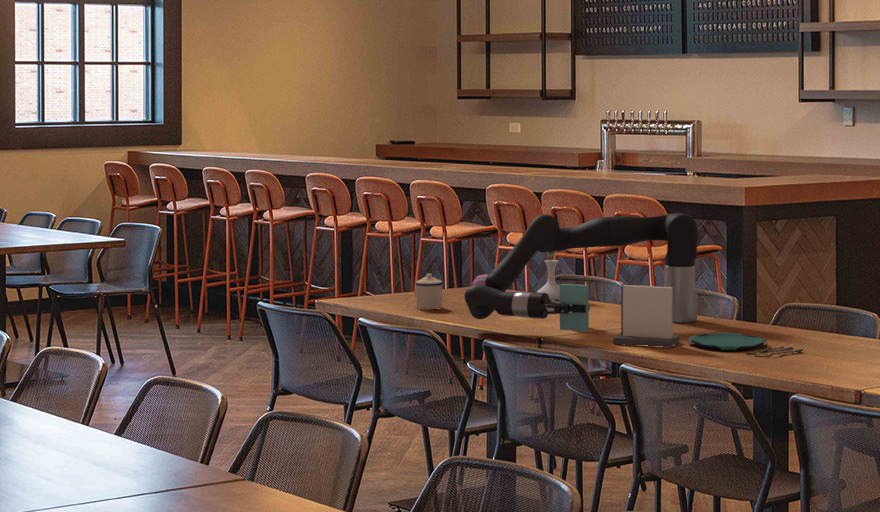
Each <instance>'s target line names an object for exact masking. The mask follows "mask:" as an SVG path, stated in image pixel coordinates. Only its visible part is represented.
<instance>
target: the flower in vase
mask: <svg viewBox="0 0 880 512" xmlns="http://www.w3.org/2000/svg"><path fill="white" fill-rule="evenodd" d="M545 253H546V254H547V255H548V257H549V259H545V260H544V263H545V265H546V267H547V272H548V273H547V276H548V277H547V281H546V283H545V284H544V285H543V286H542V287H540V289H538V290H537V291H536V292H539V293H547V294H548V296H549V299H550V300H554V299H560V284H558V283H557V282H556V277H555V276H556V275H555V274H556V267H557V264H558V263H559V260H557V259H552V258H551V257H553V256H554V255H556V254H557V251H553V253H551V252H545ZM550 253H551V254H550Z"/></svg>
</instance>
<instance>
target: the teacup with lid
mask: <svg viewBox="0 0 880 512" xmlns="http://www.w3.org/2000/svg"><path fill="white" fill-rule="evenodd" d="M415 285H416V286H415V287H414V296H415V298H416V309H417V308H421V309H436V308H441V309H442V308H443V280H441V279H438V278H436V277H435V276H433V273H426V275H425V276H423V277H422V278H421V279H418V280H416V281H415Z"/></svg>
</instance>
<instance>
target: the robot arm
mask: <svg viewBox="0 0 880 512" xmlns="http://www.w3.org/2000/svg"><path fill="white" fill-rule="evenodd" d="M698 231H699V230H698V224H697V222H696V220H695V219H694V218H693V217H692V216H690V215H688V214H687V213H682V212H674V213H667V214H663V215H657V216H645V217H644V216H629V215H628V216H624V215H623V216H619V215H617V216H616V215H615V216H603V217H602V216H601V217H597V218H594V219H591V220H589V221H586V222H584V223H583V222H582V223H581V224H579V225H575V226H570V227H560V224H559V220H557V218H556V217H554V216H553V215H551V214H546V213H545V214H540V215H538V216H536V217H534V219H533V220H531V223H530V224H529V225H528V227H527V229H526V230H525V232H524V234H523V235H522V236H521V237H520V239H519V240H518V242H517V243H516V244H515V245H514V247H513V248H512V249H511V250H510V251H509V253H508V254H507V255H505V257H504V258H503V259H502V260H501V261H500V262H499V263H498V264H497V265H496V266H495V267H494V269H492V271H490V272H489V274H487V275H488V276H487V277H486V279H485V286H484V285H475V286H470V287H468V288H467V289H466V291H465V292H464V296H463V297H464V301H465V304H466V306H467V308H468V310H469V313H470V314H471V316H472V317H473V318H474V319H477V320H484V319H486V318H488V317H489V316H491V315H492V313H493V312H494V311H495V312H496V313H497V314H498V315H500V316H504V317H505V316H508V317H518V318H524V319H525V318H526V319H541V320H545V319H547V318H548V316H549V315H560V314H568V313H573V312H576V313H585V312H586V305H577V304H566V302H562V301H560V299H554V300H550V299H549V296H548V294H547V293H539V292H537V291H536V292H535V291H518V292H517V291H507V290H508V289H509V288H510V287H511V286H512V284H514V283H515V281H516V280H517V279H518V278H519V276H520V275H521V274H522V273H523V271H524V269H526V266H527V265H528V263H529V261H530V260H531V259H532V258H533V256H534V255H535V254H536V253H537V252H538V253H547V252H549V253H551V252H553V253H554V251H556V252H558V251H559V252H560V251H565V250H572V249H586V248H587V249H588V248H603V247H604V248H607V247H609V248H610V247H612V248H613V247H623V246H629V245H634V244H638V243H641V242H650V241H662V242H667V248H666V249H667V250H666V255H665V257H664V287H673V294H672V323H678V324H679V323H692V322H697V321H698V290H697V289H696V259H697V255H698V237H699V235H698V234H699V232H698ZM590 306H591V304H590V303H589V311H590V309H591V307H590Z"/></svg>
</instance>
